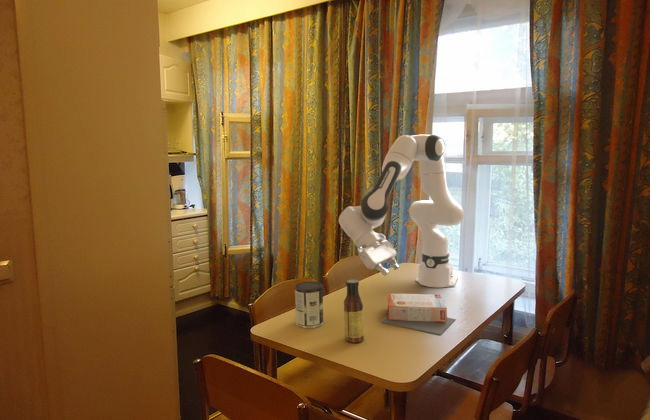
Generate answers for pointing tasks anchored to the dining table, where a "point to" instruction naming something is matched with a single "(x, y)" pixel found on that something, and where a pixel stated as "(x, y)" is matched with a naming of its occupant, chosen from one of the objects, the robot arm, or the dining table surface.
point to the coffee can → (309, 304)
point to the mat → (422, 325)
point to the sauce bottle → (353, 313)
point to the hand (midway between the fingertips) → (392, 271)
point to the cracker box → (417, 307)
